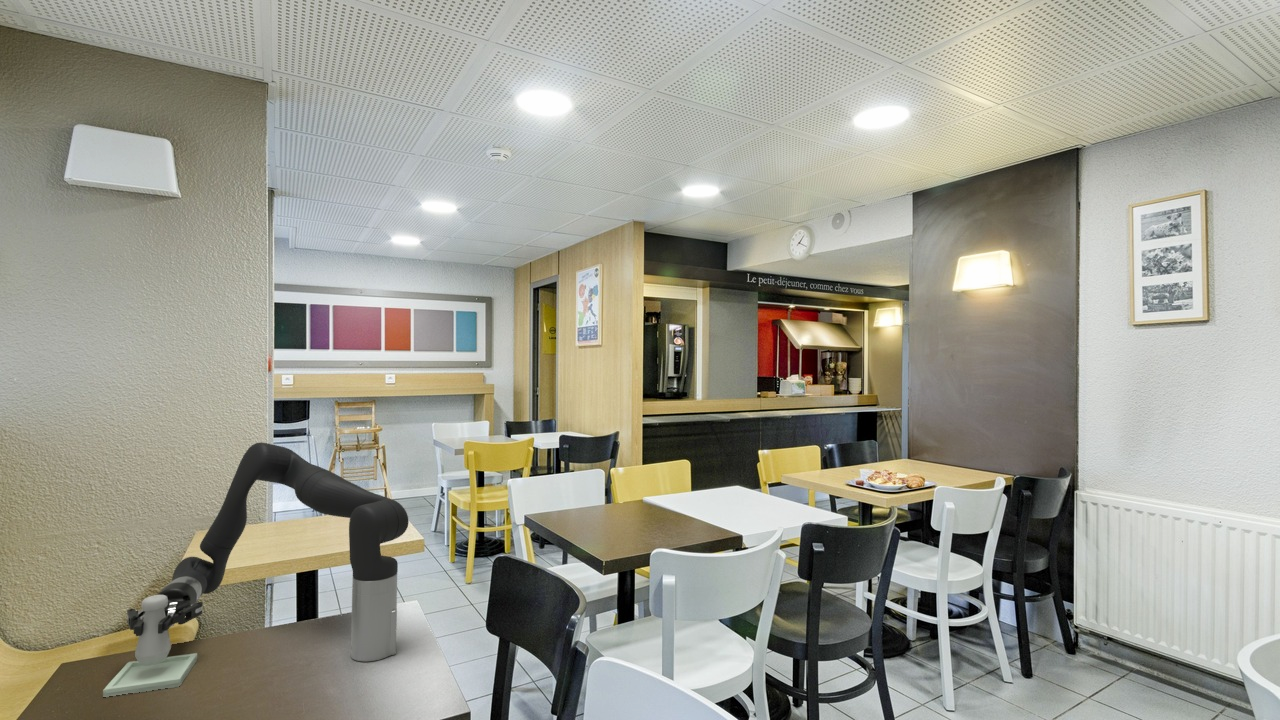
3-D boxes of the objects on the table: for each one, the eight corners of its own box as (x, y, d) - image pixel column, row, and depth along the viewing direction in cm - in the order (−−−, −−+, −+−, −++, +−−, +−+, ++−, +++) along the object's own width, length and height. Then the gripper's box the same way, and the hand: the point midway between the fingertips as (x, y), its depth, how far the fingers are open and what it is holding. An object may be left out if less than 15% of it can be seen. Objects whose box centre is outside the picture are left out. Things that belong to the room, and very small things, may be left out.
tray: (197, 660, 132) (197, 653, 132) (179, 686, 121) (179, 679, 121) (128, 669, 128) (128, 662, 128) (102, 697, 117) (103, 689, 117)
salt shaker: (150, 669, 121) (152, 603, 121) (126, 666, 123) (128, 600, 123) (178, 656, 127) (179, 593, 127) (155, 653, 128) (157, 590, 128)
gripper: (139, 585, 136) (105, 615, 120) (215, 578, 141) (192, 606, 125) (138, 619, 136) (104, 654, 120) (214, 611, 141) (191, 643, 125)
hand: (149, 629), depth 122 cm, fingers closed on salt shaker, 3 cm apart
